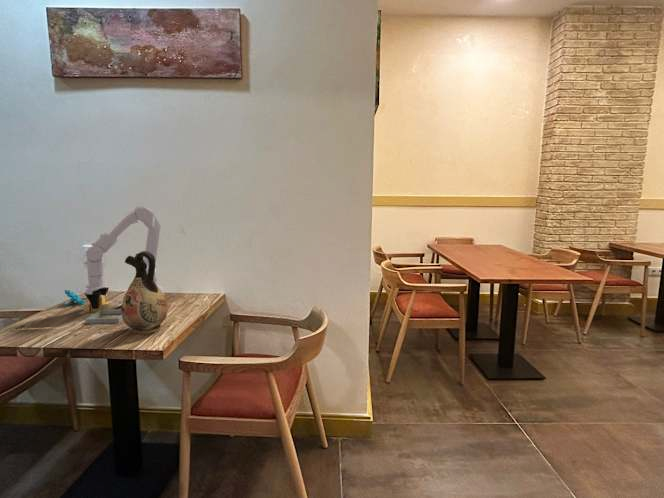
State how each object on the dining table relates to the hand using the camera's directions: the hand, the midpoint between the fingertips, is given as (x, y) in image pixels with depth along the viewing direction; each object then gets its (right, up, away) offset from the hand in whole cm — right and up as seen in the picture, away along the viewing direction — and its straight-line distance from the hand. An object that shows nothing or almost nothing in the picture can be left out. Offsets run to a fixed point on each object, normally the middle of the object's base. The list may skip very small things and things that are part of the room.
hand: (98, 306), depth 170 cm
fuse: (0, -1, 0) cm, 1 cm away
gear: (-15, -1, +9) cm, 18 cm away
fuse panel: (0, -2, 0) cm, 2 cm away
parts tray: (+10, -4, -10) cm, 15 cm away
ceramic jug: (+31, -6, -22) cm, 38 cm away
